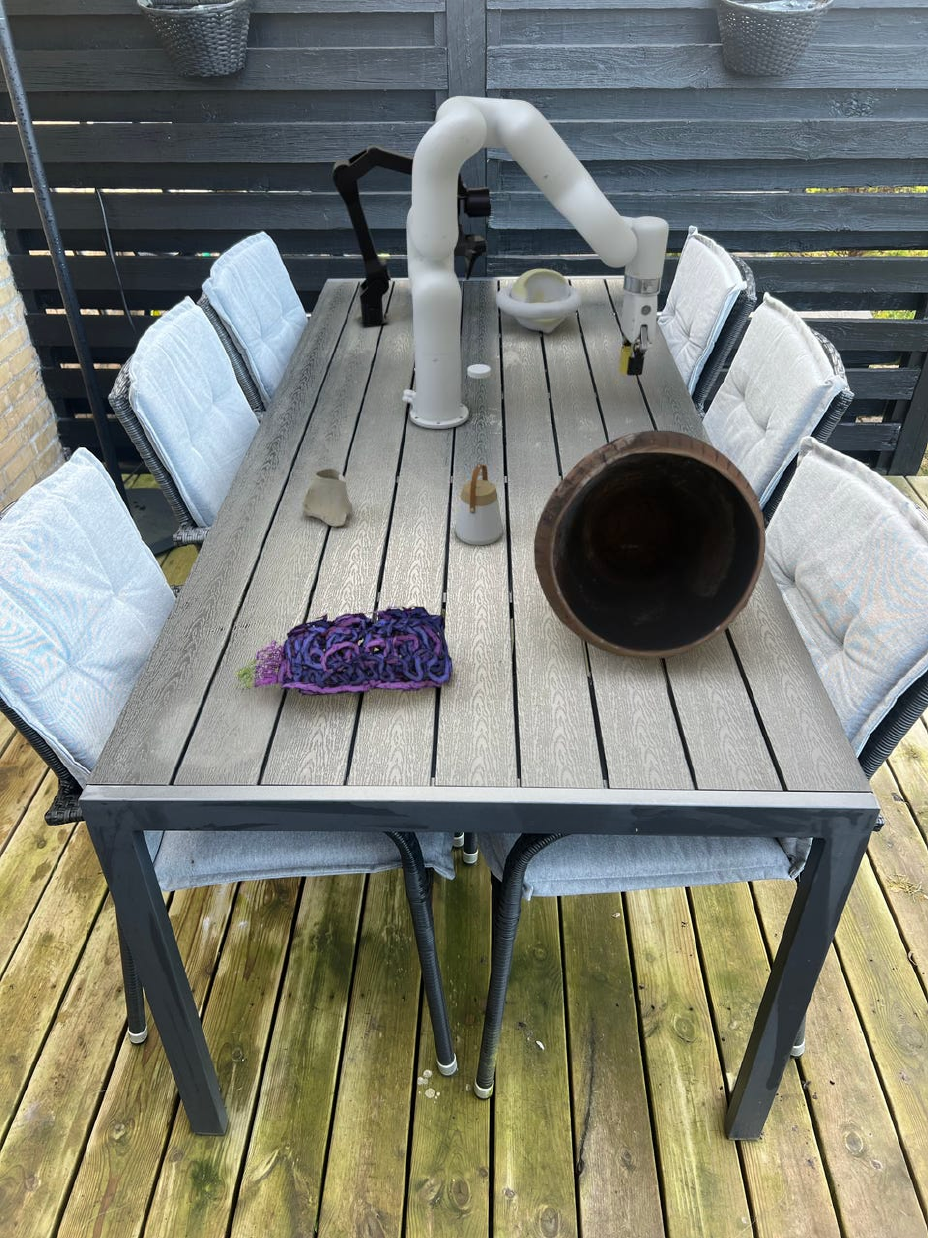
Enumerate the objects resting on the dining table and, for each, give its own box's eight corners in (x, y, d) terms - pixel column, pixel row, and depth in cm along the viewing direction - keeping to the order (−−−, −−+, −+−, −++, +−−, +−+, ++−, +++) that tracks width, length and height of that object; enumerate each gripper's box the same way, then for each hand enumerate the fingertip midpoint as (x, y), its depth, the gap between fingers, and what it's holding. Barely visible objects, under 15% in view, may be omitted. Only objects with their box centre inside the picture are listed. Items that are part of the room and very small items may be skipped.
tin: (642, 375, 197) (645, 354, 194) (619, 374, 197) (621, 353, 195) (641, 367, 201) (644, 346, 198) (619, 365, 201) (621, 344, 198)
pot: (569, 390, 148) (614, 390, 119) (739, 473, 153) (822, 494, 124) (483, 572, 154) (505, 616, 125) (649, 647, 159) (708, 705, 130)
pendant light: (493, 549, 158) (495, 382, 140) (448, 540, 161) (445, 375, 142) (508, 525, 164) (512, 362, 146) (465, 517, 167) (463, 355, 148)
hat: (489, 313, 250) (490, 256, 241) (569, 310, 251) (573, 252, 242) (502, 348, 230) (503, 287, 221) (589, 343, 232) (594, 283, 223)
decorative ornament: (458, 672, 122) (225, 684, 119) (455, 713, 130) (238, 725, 128) (450, 592, 130) (231, 602, 127) (447, 636, 138) (243, 646, 135)
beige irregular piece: (352, 523, 169) (358, 468, 167) (345, 530, 162) (351, 474, 159) (303, 516, 169) (308, 461, 167) (294, 523, 162) (299, 466, 159)
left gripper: (422, 229, 224) (424, 295, 234) (495, 222, 229) (494, 287, 238) (410, 218, 232) (412, 281, 242) (480, 211, 237) (480, 274, 247)
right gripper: (672, 296, 182) (659, 385, 193) (648, 270, 195) (636, 354, 206) (635, 297, 181) (623, 386, 192) (613, 270, 194) (603, 355, 205)
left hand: (450, 281), depth 242 cm, fingers open, 9 cm apart
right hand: (630, 368), depth 199 cm, fingers closed on tin, 4 cm apart
